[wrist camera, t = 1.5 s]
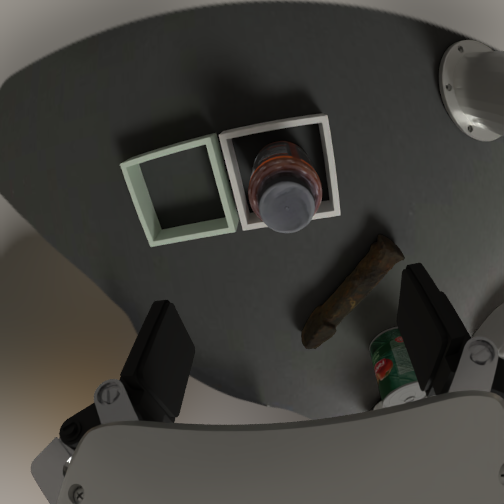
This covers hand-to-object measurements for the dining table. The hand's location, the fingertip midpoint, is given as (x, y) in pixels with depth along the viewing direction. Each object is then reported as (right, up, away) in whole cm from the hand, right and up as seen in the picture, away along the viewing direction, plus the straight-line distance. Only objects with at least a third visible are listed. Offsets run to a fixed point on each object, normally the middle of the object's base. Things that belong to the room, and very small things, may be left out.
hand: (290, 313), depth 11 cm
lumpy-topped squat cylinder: (+46, -11, +29) cm, 56 cm away
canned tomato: (+21, -12, +31) cm, 40 cm away
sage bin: (-9, +10, +20) cm, 24 cm away
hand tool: (+11, -3, +27) cm, 29 cm away
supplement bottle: (+2, +11, +19) cm, 22 cm away
